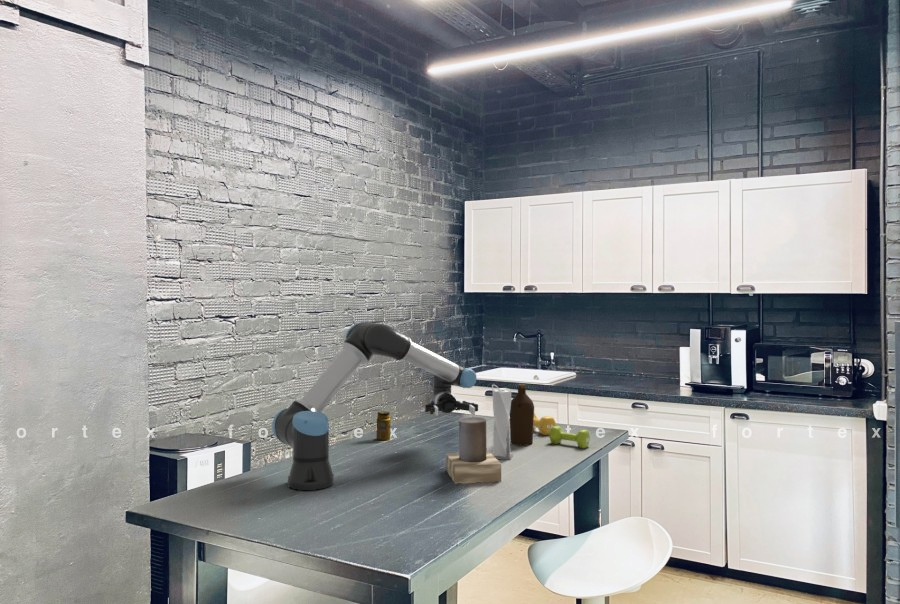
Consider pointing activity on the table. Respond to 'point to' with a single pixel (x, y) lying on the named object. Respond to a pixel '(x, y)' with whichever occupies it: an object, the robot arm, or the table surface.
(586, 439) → the dumbbell
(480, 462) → the oak block
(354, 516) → the table surface
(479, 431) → the pillar candle
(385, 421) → the condiment
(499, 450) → the skyscraper
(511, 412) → the olive oil
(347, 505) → the table surface
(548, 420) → the dumbbell
